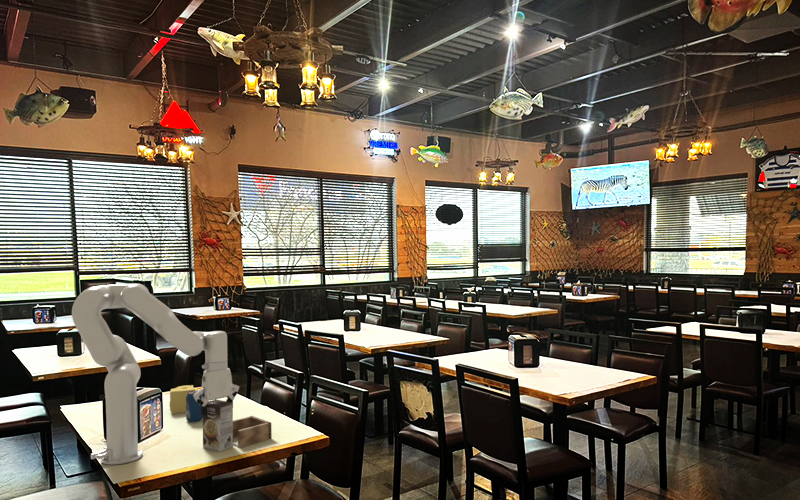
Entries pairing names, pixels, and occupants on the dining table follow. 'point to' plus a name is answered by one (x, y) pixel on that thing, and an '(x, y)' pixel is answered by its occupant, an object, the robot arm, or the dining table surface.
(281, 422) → the dining table surface
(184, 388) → the cheese
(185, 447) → the dining table surface
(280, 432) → the dining table surface
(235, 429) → the walnut caddy
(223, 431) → the coffee box
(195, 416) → the soda can
